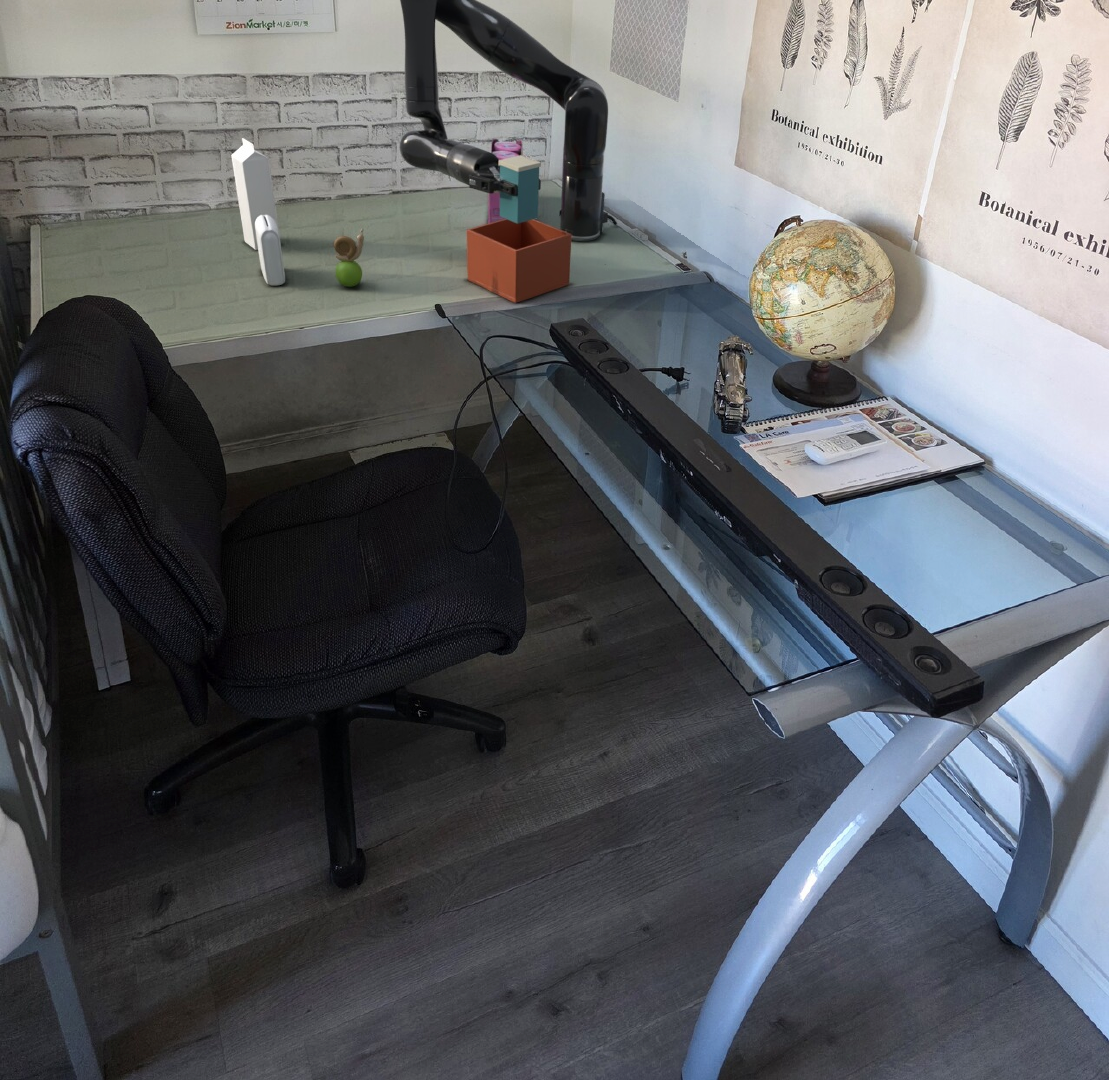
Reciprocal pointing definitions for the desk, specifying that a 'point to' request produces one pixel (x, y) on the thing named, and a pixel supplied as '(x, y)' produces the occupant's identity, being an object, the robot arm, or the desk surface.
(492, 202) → the gum box
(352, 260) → the snail figurine
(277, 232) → the photo printer
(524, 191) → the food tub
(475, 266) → the open square box
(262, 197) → the milk
